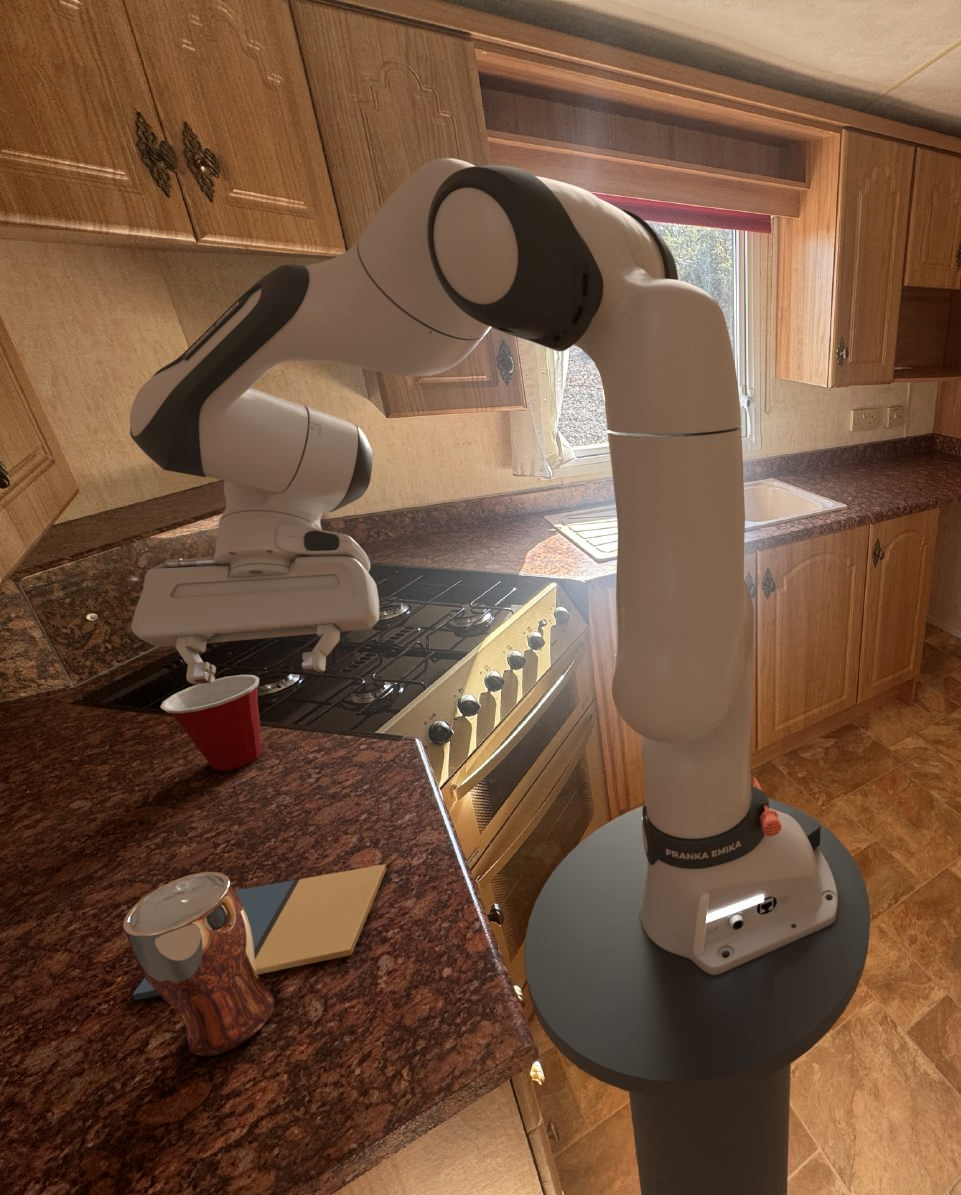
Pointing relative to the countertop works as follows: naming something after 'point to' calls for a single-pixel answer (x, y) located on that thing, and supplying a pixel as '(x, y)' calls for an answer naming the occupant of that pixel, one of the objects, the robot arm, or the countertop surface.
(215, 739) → the plastic cup
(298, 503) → the robot arm
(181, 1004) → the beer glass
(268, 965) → the sorting board
